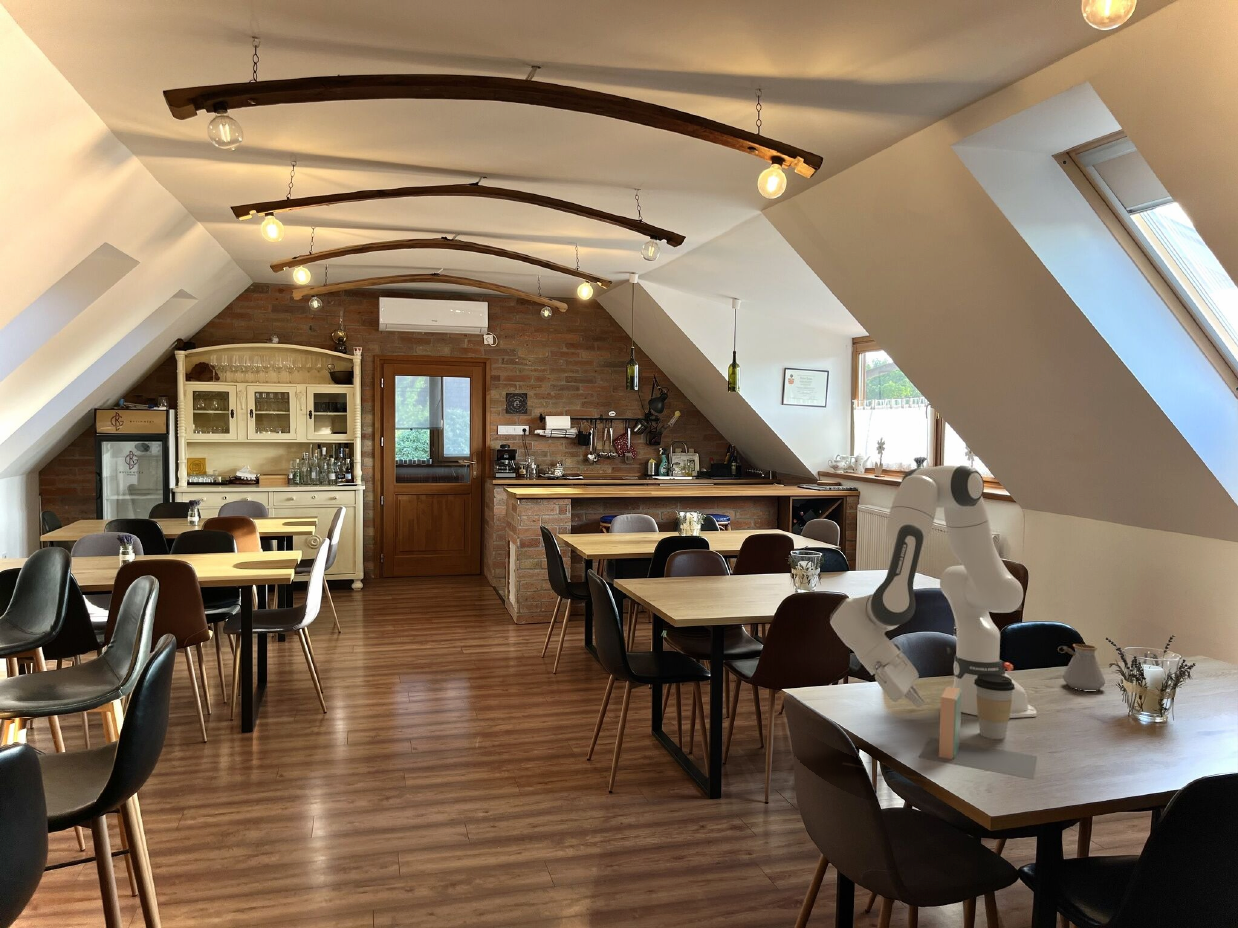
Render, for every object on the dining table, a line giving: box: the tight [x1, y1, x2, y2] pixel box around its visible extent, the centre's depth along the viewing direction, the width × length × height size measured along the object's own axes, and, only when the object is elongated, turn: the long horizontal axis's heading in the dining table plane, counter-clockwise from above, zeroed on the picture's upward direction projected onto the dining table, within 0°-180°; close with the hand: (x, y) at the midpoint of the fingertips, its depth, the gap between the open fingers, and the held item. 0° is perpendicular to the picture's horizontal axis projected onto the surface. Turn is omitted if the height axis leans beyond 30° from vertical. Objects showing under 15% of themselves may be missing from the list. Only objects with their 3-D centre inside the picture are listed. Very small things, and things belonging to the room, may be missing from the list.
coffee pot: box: [1057, 643, 1106, 690], centre depth 259 cm, size 21×12×15 cm, turn 128°
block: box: [939, 686, 962, 759], centre depth 203 cm, size 3×10×14 cm, turn 151°
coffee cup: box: [974, 673, 1015, 740], centre depth 216 cm, size 9×9×15 cm
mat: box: [918, 736, 1038, 780], centre depth 200 cm, size 24×16×1 cm, turn 61°
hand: (921, 704), depth 206 cm, fingers closed
